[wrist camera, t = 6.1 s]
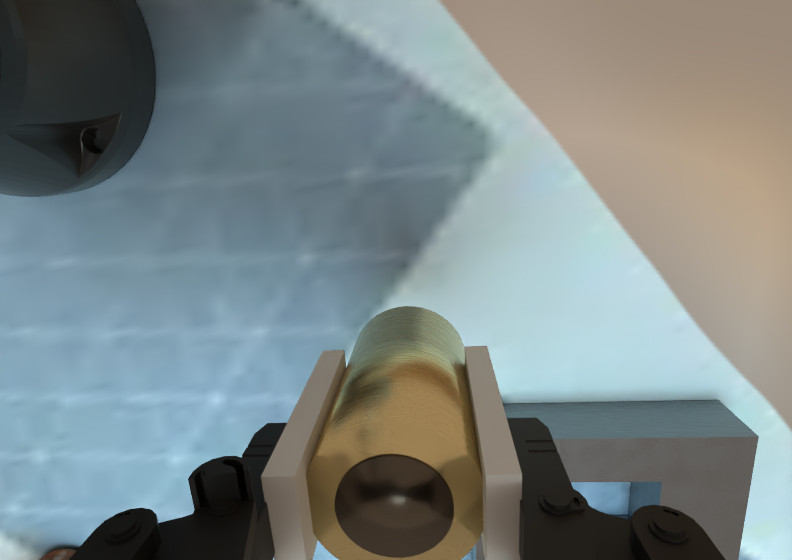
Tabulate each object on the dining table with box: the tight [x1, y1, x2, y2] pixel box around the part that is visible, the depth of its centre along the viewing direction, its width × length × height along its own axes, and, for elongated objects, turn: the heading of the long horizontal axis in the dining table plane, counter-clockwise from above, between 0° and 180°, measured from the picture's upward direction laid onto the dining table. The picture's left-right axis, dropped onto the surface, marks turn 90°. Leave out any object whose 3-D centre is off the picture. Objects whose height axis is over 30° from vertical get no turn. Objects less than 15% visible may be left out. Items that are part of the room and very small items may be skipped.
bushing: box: [306, 306, 483, 560], centre depth 15 cm, size 4×4×8 cm
